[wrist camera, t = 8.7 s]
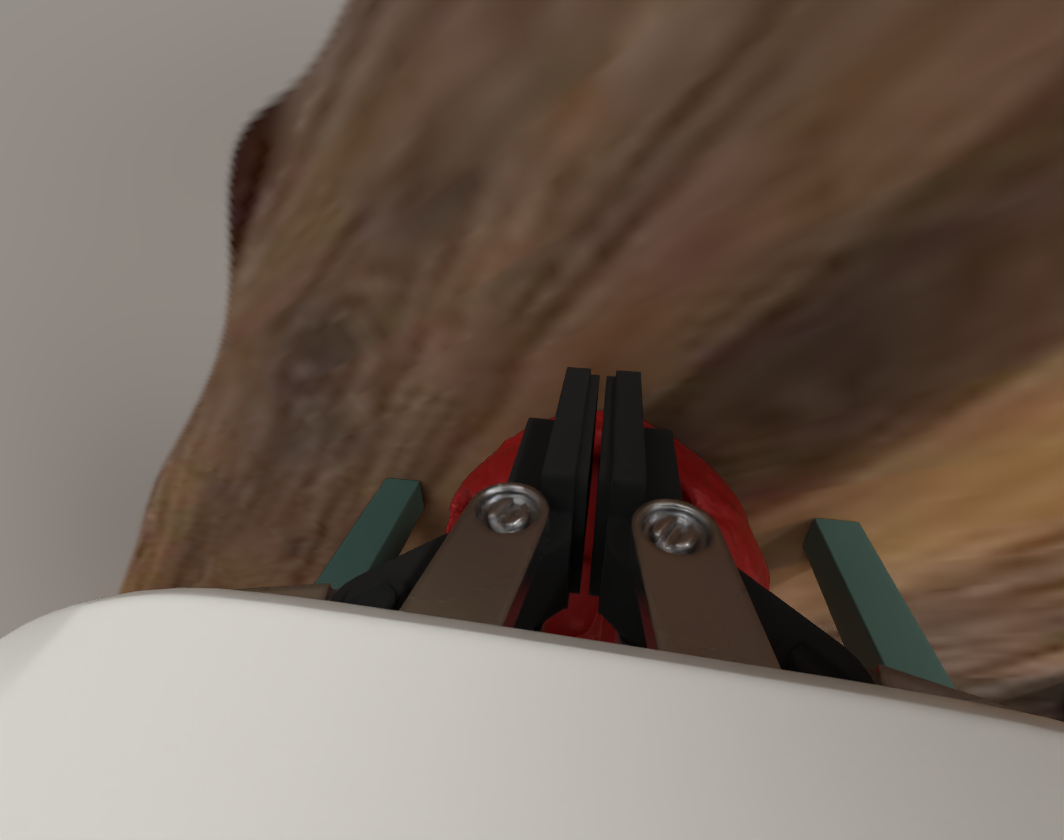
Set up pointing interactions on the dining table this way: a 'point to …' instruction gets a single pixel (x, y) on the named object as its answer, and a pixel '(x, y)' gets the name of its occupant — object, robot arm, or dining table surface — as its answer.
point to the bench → (831, 547)
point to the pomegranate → (582, 610)
